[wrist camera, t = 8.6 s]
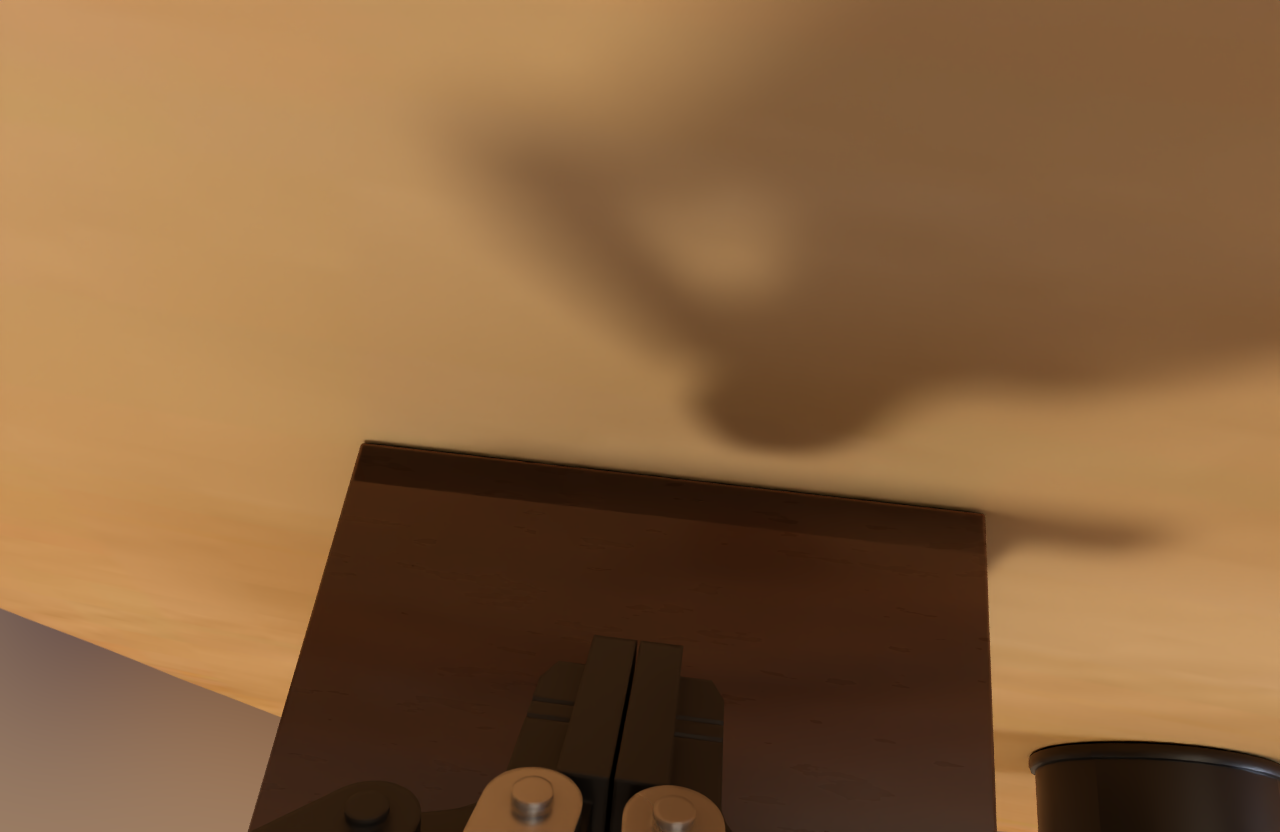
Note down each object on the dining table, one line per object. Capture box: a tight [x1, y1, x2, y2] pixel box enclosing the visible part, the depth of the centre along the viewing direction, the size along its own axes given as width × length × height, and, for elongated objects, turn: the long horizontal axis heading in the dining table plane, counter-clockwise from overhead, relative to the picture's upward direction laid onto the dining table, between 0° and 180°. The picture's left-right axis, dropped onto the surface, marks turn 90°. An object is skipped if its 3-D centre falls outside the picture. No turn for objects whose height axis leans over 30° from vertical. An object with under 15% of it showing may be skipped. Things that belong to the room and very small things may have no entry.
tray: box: [248, 443, 997, 832], centre depth 26 cm, size 19×13×10 cm
